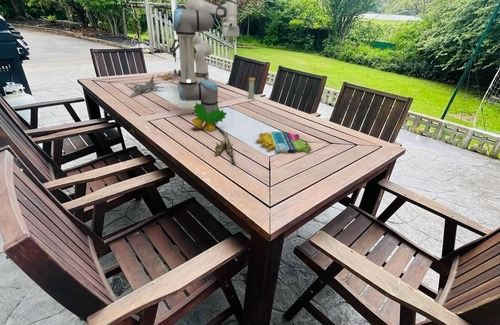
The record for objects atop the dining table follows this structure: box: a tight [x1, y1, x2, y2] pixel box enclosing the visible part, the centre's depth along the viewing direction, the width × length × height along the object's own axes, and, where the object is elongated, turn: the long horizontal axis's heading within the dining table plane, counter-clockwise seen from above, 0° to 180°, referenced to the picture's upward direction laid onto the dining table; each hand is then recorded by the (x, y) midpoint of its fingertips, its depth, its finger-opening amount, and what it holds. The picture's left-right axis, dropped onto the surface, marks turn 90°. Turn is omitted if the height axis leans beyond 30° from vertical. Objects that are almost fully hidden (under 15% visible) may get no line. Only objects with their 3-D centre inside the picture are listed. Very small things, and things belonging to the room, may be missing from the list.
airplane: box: [130, 74, 165, 97], centre depth 228 cm, size 38×32×10 cm
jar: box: [247, 80, 256, 100], centre depth 228 cm, size 5×5×17 cm
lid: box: [248, 77, 256, 82], centre depth 224 cm, size 6×6×2 cm
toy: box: [155, 68, 181, 81], centre depth 281 cm, size 28×7×30 cm
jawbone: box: [214, 131, 234, 156], centre depth 136 cm, size 9×15×10 cm
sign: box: [256, 131, 312, 154], centre depth 152 cm, size 26×2×30 cm
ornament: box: [191, 101, 228, 132], centre depth 162 cm, size 21×8×15 cm, turn 105°
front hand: (184, 61), depth 211 cm, fingers open, 13 cm apart
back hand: (231, 42), depth 222 cm, fingers open, 8 cm apart
